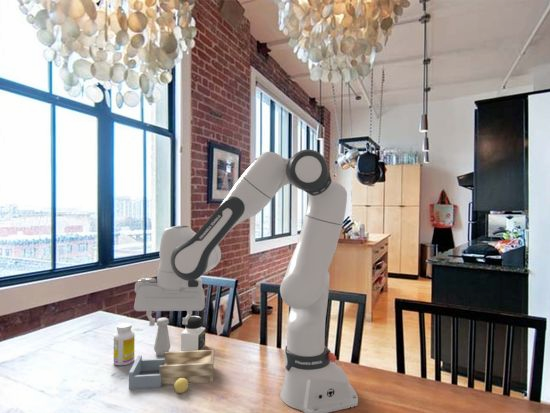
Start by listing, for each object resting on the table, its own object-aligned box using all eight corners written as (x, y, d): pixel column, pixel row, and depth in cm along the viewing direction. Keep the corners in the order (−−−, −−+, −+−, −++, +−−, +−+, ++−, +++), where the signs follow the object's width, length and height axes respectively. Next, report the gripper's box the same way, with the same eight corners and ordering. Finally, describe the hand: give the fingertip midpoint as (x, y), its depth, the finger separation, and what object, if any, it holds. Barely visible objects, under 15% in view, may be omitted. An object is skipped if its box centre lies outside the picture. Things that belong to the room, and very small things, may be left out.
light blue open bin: (166, 368, 112) (167, 354, 112) (160, 386, 101) (161, 370, 101) (137, 370, 111) (138, 355, 111) (128, 388, 100) (128, 372, 100)
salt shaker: (165, 357, 120) (165, 322, 120) (150, 356, 121) (151, 320, 121) (173, 350, 126) (173, 316, 126) (159, 349, 127) (159, 315, 127)
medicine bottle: (198, 353, 124) (199, 321, 124) (180, 351, 125) (181, 320, 125) (205, 345, 131) (206, 315, 131) (188, 343, 132) (188, 313, 132)
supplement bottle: (137, 357, 120) (137, 322, 120) (129, 366, 114) (129, 329, 113) (118, 357, 120) (119, 321, 120) (109, 366, 113) (110, 328, 113)
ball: (188, 387, 101) (189, 374, 101) (187, 395, 97) (187, 381, 97) (175, 388, 101) (175, 375, 101) (173, 396, 97) (173, 382, 97)
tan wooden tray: (213, 367, 114) (213, 349, 114) (212, 382, 104) (213, 363, 104) (164, 369, 112) (165, 352, 112) (159, 386, 102) (159, 366, 102)
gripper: (134, 281, 94) (130, 329, 94) (207, 282, 100) (203, 327, 100) (136, 275, 100) (132, 321, 100) (205, 277, 106) (201, 320, 106)
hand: (168, 324), depth 100 cm, fingers open, 8 cm apart
